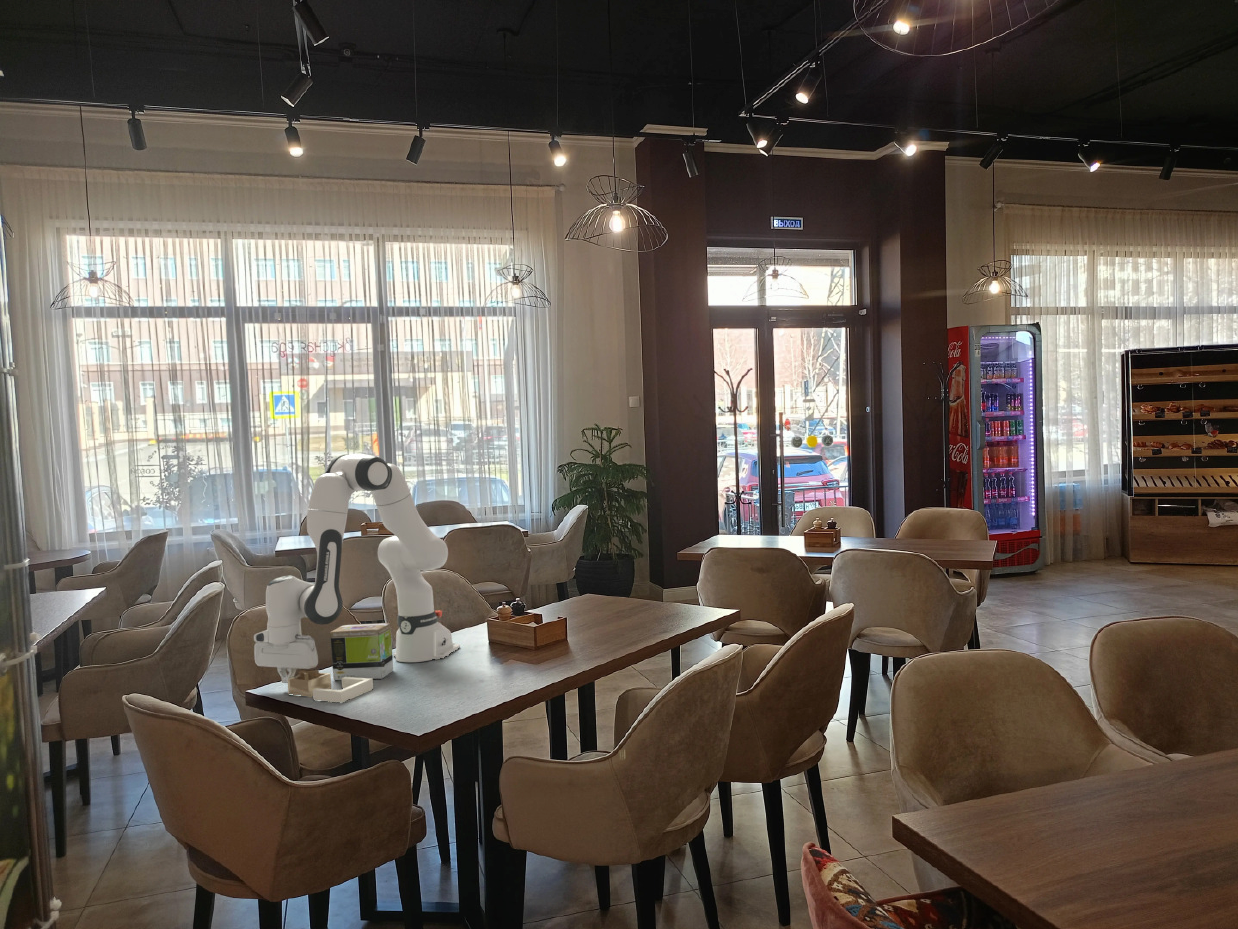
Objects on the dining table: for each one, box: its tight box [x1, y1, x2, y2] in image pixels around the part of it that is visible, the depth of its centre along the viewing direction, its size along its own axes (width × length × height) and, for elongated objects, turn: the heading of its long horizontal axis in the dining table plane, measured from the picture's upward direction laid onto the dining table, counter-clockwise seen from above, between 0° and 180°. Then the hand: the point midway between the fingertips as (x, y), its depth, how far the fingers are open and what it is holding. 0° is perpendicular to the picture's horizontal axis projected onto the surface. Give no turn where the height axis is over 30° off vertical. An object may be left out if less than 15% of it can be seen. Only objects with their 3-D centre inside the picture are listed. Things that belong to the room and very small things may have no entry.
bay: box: [312, 677, 374, 704], centre depth 237 cm, size 13×10×3 cm
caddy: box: [287, 669, 332, 698], centre depth 242 cm, size 8×8×6 cm
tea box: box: [329, 622, 394, 681], centre depth 257 cm, size 15×10×15 cm, turn 84°
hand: (287, 682), depth 245 cm, fingers closed
